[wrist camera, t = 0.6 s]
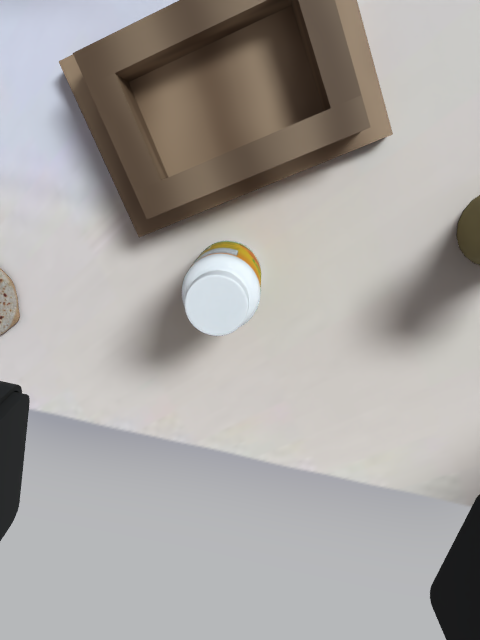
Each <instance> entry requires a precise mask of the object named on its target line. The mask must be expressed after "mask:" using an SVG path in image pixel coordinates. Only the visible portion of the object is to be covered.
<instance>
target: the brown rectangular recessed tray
mask: <svg viewBox="0 0 480 640" xmlns="http://www.w3.org/2000/svg"><path fill="white" fill-rule="evenodd" d="M59 63H60V66H61V68H62V70H63V72H64V74H65V77H66V79H67V81H68V83H69V85H70V87H71V90H72V92H73V94H74V96H75V98H76V101H77V103H78V105H79V107H80V109H81V112H82V114H83V116H84V118H85V120H86V123H87V125H88V127H89V129H90V131H91V133H92V136H93V138H94V140H95V142H96V144H97V147H98V149H99V151H100V153H101V155H102V158H103V160H104V162H105V164H106V166H107V168H108V171H109V173H110V175H111V177H112V179H113V182H114V184H115V186H116V188H117V190H118V193H119V195H120V197H121V199H122V201H123V203H124V206H125V208H126V210H127V212H128V214H129V217H130V219H131V221H132V223H133V225H134V228H135V230H136V232H137V234H138V236H139V237H141V236H144V235H146V234H149V233H151V232H154V231H156V230H159V229H161V228H163V227H166V226H168V225H171V224H173V223H176V222H178V221H181V220H183V219H186V218H188V217H191V216H193V215H195V214H198V213H200V212H203V211H205V210H208V209H210V208H213V207H215V206H218V205H220V204H223V203H225V202H227V201H230V200H232V199H235V198H237V197H240V196H242V195H245V194H247V193H250V192H252V191H255V190H257V189H259V188H262V187H264V186H267V185H269V184H272V183H274V182H277V181H279V180H282V179H284V178H286V177H289V176H291V175H294V174H296V173H299V172H301V171H304V170H306V169H309V168H311V167H314V166H316V165H318V164H321V163H323V162H326V161H328V160H331V159H333V158H336V157H338V156H341V155H343V154H346V153H348V152H350V151H353V150H355V149H358V148H360V147H363V146H365V145H368V144H370V143H373V142H375V141H378V140H380V139H382V138H385V137H387V136H390V135H392V134H393V133H392V130H391V126H390V122H389V118H388V115H387V111H386V107H385V104H384V100H383V96H382V92H381V89H380V85H379V81H378V77H377V74H376V70H375V66H374V63H373V59H372V55H371V51H370V48H369V44H368V40H367V36H366V33H365V29H364V25H363V22H362V18H361V14H360V10H359V7H358V3H357V0H179V1H177V2H175V3H173V4H171V5H169V6H167V7H165V8H163V9H161V10H159V11H157V12H155V13H153V14H151V15H149V16H147V17H145V18H143V19H141V20H139V21H137V22H135V23H133V24H131V25H129V26H127V27H125V28H123V29H121V30H119V31H117V32H115V33H113V34H111V35H109V36H107V37H105V38H103V39H101V40H99V41H97V42H94V43H92V44H90V45H88V46H86V47H84V48H82V49H80V50H78V51H76V52H74V53H73V55H71V56H69V57H67V58H65V59H63V60H61V61H59Z"/></svg>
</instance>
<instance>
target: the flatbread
mask: <svg viewBox="0 0 480 640" xmlns="http://www.w3.org/2000/svg"><path fill="white" fill-rule="evenodd" d="M19 317H20V314H19V308H18V298H17V294H16V290H15V286H14V284H13V282H12V280H11V279H10V278H9V276H8V275H7V274H6V273H5V272H4V271H3V270H1V269H0V335H2V334H3V333H5V332H6V331H7V330H8V329H10V328H11V327H12V326H14V325H15V324H16V323H17V322H18V320H19Z"/></svg>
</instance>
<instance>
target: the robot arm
mask: <svg viewBox="0 0 480 640" xmlns="http://www.w3.org/2000/svg"><path fill="white" fill-rule="evenodd" d="M28 412H29V396H28V395H26V394H22V389H21V387H20V386H19V385H16V384H12V383H7V382H2V381H0V541H1V539H2V537H3V536H4V535H5V533H6V532H7V530H8V529H9V527H10V526H11V524H12V522H13V520H14V518H15V516H16V513H17V511H18V507H19V501H20V491H21V481H22V471H23V461H24V451H25V441H26V432H27V422H28ZM430 599H431V604H432V607H433V610H434V612H435V614H436V617H437V619H438V621H439V624H440V626H441V628H442V630H443V633H444V635H445V638H446V640H480V495H478V497H477V498H476V500H475V502H474V504H473V506H472V508H471V510H470V512H469V514H468V515H467V518H466V519H465V522H464V524H463V526H462V527H461V529H460V531H459V533H458V535H457V537H456V539H455V541H454V543H453V545H452V547H451V549H450V551H449V552H448V555H447V556H446V558H445V560H444V562H443V564H442V566H441V568H440V570H439V572H438V574H437V576H436V578H435V580H434V582H433V584H432V586H431V590H430Z"/></svg>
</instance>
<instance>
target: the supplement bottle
mask: <svg viewBox="0 0 480 640" xmlns="http://www.w3.org/2000/svg"><path fill="white" fill-rule="evenodd" d="M260 293H261V269H260V264H259V261H258V259H257V257H256V256H255V254H254V253H253V252H252V251H251V250H250V249H249V248H248V247H246V246H245V245H243V244H241V243H238V242H234V241H221V242H217V243H214V244H212V245H211V246H209V247H208V248H206V249H205V250H204V251H203V252H202V253H201V254H200V256H199V257H198V258H197V260H196V261H195V262H194V264H193V265H192V266H191V267H190V269H189V270H188V272H187V274H186V276H185V278H184V281H183V285H182V300H183V304H184V306H185V311H186V315H187V317H188V319H189V321H190V322H191V324H192V325H193V326H194V327H195V328H196V329H198V330H199V331H201V332H203V333H205V334H208V335H212V336H223V335H227V334H230V333H232V332H234V331H235V330H237V329H238V328H239V327H240V326H242V325H244V324H245V323H246V322H248V321H249V320H250V319H251V317H252V316H253V315H254V313H255V311H256V310H257V307H258V304H259V300H260Z"/></svg>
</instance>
